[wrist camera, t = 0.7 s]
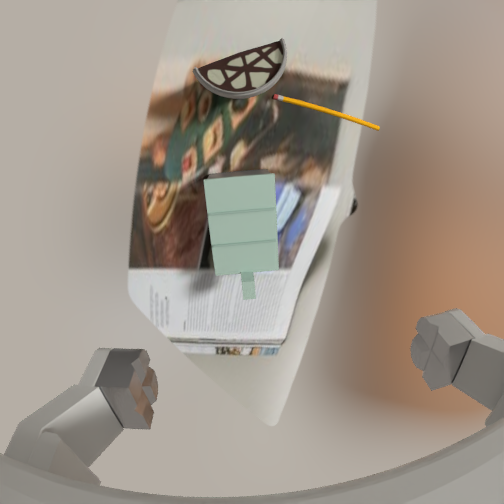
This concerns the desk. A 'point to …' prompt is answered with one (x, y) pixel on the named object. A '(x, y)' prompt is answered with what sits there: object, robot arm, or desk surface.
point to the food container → (245, 71)
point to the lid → (243, 226)
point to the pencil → (325, 111)
